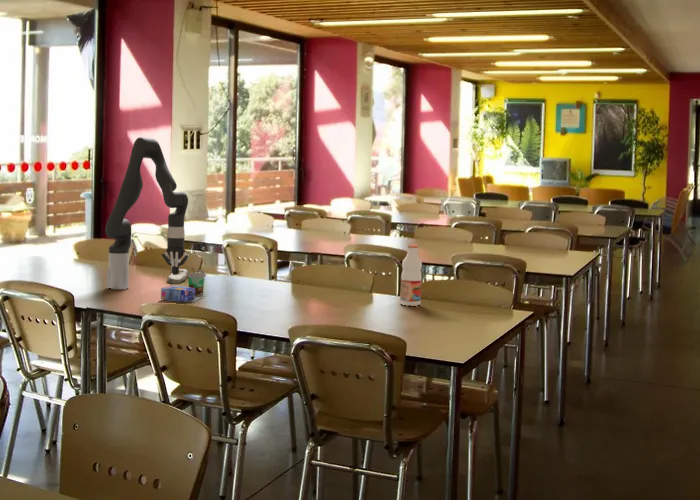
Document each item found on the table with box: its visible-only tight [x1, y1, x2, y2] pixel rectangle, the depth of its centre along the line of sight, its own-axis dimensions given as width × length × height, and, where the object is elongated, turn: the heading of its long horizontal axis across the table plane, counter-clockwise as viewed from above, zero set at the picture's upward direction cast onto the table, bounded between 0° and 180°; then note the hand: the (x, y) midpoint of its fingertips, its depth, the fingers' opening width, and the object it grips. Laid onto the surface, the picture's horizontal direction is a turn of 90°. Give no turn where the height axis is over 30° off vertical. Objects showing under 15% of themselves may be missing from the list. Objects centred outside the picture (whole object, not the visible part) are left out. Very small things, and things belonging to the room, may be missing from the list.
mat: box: [165, 296, 204, 303], centre depth 409 cm, size 13×13×1 cm
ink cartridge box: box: [160, 285, 197, 303], centre depth 407 cm, size 10×6×14 cm
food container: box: [187, 269, 207, 295], centre depth 427 cm, size 12×6×10 cm, turn 168°
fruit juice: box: [399, 243, 423, 305], centre depth 415 cm, size 9×9×28 cm
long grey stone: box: [166, 266, 190, 285], centre depth 468 cm, size 35×5×10 cm
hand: (175, 274), depth 407 cm, fingers closed
